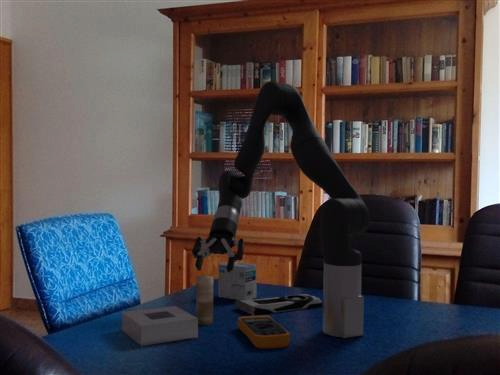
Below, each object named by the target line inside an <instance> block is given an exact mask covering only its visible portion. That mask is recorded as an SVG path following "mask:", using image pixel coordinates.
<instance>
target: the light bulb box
mask: <svg viewBox="0 0 500 375" xmlns="http://www.w3.org/2000/svg"><path fill="white" fill-rule="evenodd" d="M227 263H228V261H225V262H219V263H218V270H217V271H218V274H217V279H218V280H217V283H218V284H217V285H218V286H217V287H218V292H217V293H218V294H217V295H218V296H217V297H218V298H222V297H223V299H228V298H229V299H231V300H235V299H236V300H235V301H238V300H248V299H253V300H254V299H256V298H257V296H258V295H257V294H258V293H257V272H258V271H257V266H258V265H257V264H256V263H245V262H237V261H235V263H234V267H233V270H232V271H231V272H227Z"/></svg>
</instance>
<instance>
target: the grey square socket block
mask: <svg viewBox="0 0 500 375" xmlns="http://www.w3.org/2000/svg"><path fill="white" fill-rule="evenodd" d="M121 316H122V321H121V322H122V324H121V331H122V332H123V333H125V335H127V336H129V337H130V338H131V339H132V340H134V341H135V343H137V344H138V345H139V346H140V347H143V346H150V345H155V344H156V345H157V344H162V343H169V342H175V341H176V342H177V341H181V340H188V339H196V338H199V324H198V318H196V316H195V315H192V314H190V313H189V312H188V311H185V310H183V309H181V308H180V307H178V306H177V305H173V306H164V307H163V306H162V307H156V308H146V309H137V310H130V311H122V313H121Z"/></svg>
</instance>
